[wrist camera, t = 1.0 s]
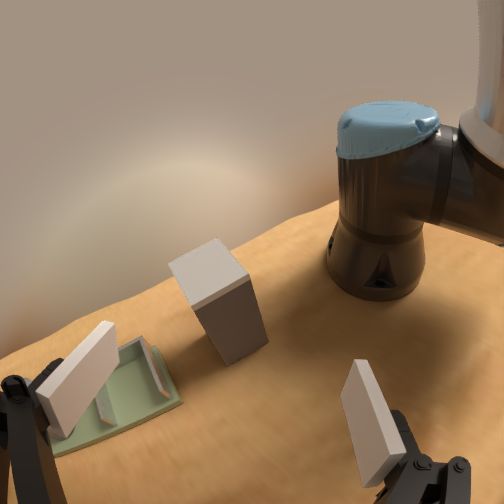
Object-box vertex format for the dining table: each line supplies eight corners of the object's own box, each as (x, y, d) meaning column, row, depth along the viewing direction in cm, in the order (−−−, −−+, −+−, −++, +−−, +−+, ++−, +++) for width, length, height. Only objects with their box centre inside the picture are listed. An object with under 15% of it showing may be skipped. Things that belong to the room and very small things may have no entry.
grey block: (241, 307, 40) (217, 237, 31) (268, 341, 35) (248, 273, 27) (204, 329, 38) (167, 263, 30) (227, 366, 34) (190, 306, 25)
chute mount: (151, 346, 36) (141, 335, 34) (174, 398, 30) (163, 389, 28) (100, 374, 33) (87, 364, 31) (115, 426, 28) (101, 419, 26)
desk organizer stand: (158, 349, 37) (121, 305, 30) (183, 402, 31) (142, 368, 24) (47, 406, 31) (0, 374, 24) (57, 457, 25) (3, 433, 18)
